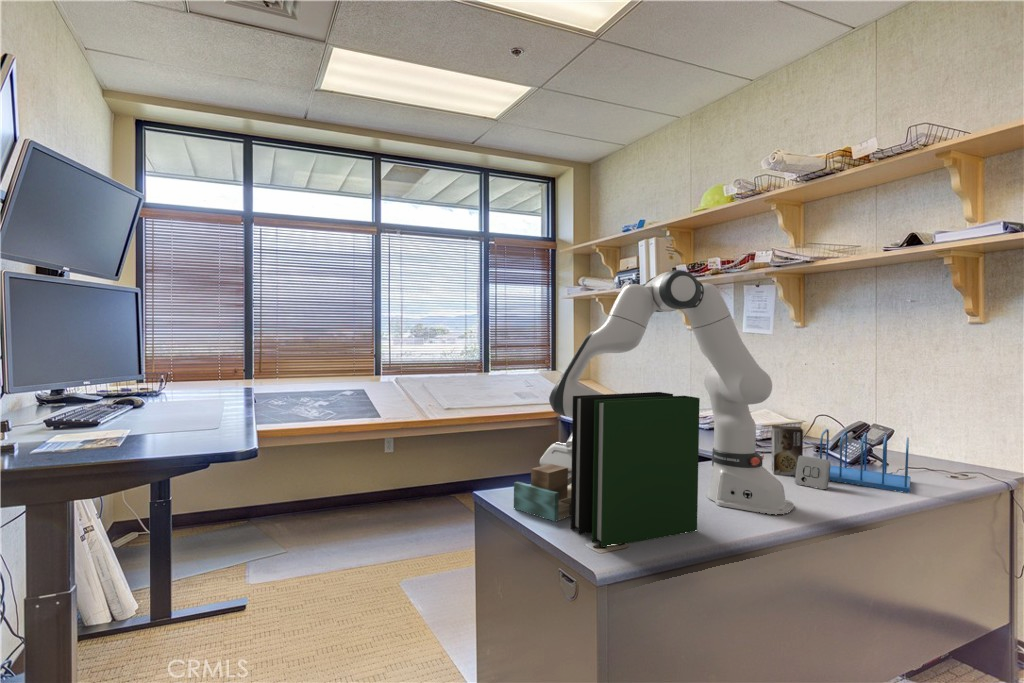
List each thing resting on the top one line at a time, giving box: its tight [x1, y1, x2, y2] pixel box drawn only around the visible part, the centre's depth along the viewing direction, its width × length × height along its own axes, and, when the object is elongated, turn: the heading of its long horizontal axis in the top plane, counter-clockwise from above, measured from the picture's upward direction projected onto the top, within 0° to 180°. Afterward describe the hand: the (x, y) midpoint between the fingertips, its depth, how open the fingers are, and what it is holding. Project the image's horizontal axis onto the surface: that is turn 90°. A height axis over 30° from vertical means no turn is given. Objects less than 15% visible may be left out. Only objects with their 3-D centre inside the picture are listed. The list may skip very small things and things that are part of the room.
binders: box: [570, 391, 701, 548], centre depth 130 cm, size 27×15×32 cm, turn 116°
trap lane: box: [513, 481, 571, 522], centre depth 147 cm, size 14×20×7 cm
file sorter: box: [819, 428, 911, 493], centre depth 179 cm, size 25×17×15 cm
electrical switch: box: [794, 455, 832, 490], centre depth 172 cm, size 9×5×9 cm, turn 41°
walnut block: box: [530, 464, 568, 500], centre depth 144 cm, size 6×8×8 cm
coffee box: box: [770, 424, 804, 477], centre depth 187 cm, size 9×6×16 cm
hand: (559, 487), depth 148 cm, fingers closed, pressing on walnut block
